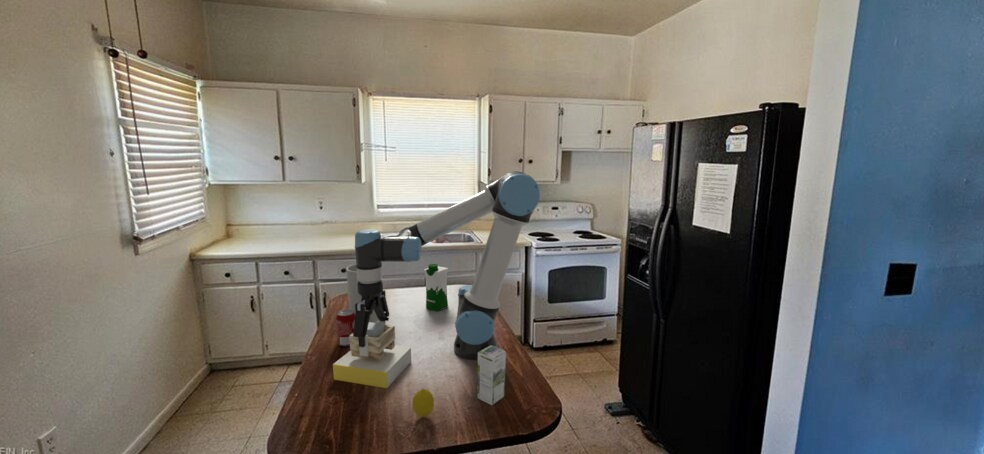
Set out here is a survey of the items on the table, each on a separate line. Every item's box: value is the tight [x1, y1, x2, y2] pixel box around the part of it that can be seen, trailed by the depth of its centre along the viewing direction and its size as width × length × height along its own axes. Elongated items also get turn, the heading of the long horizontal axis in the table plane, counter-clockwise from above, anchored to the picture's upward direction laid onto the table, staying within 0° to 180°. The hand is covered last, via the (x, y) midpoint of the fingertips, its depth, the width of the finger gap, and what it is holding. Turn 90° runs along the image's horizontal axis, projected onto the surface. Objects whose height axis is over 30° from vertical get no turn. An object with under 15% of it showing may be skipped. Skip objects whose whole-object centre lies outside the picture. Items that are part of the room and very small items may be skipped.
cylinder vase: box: [346, 263, 380, 323], centre depth 162 cm, size 12×12×25 cm
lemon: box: [412, 388, 435, 418], centre depth 110 cm, size 6×6×8 cm
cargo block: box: [366, 322, 384, 338], centre depth 132 cm, size 5×5×4 cm
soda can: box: [335, 308, 355, 347], centre depth 151 cm, size 7×7×12 cm
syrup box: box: [476, 345, 507, 406], centre depth 118 cm, size 6×6×14 cm
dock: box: [332, 345, 412, 389], centre depth 133 cm, size 18×16×5 cm
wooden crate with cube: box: [349, 324, 396, 360], centre depth 132 cm, size 10×10×7 cm
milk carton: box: [423, 263, 449, 312], centre depth 185 cm, size 9×9×20 cm
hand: (373, 347), depth 133 cm, fingers closed on wooden crate with cube, 10 cm apart
